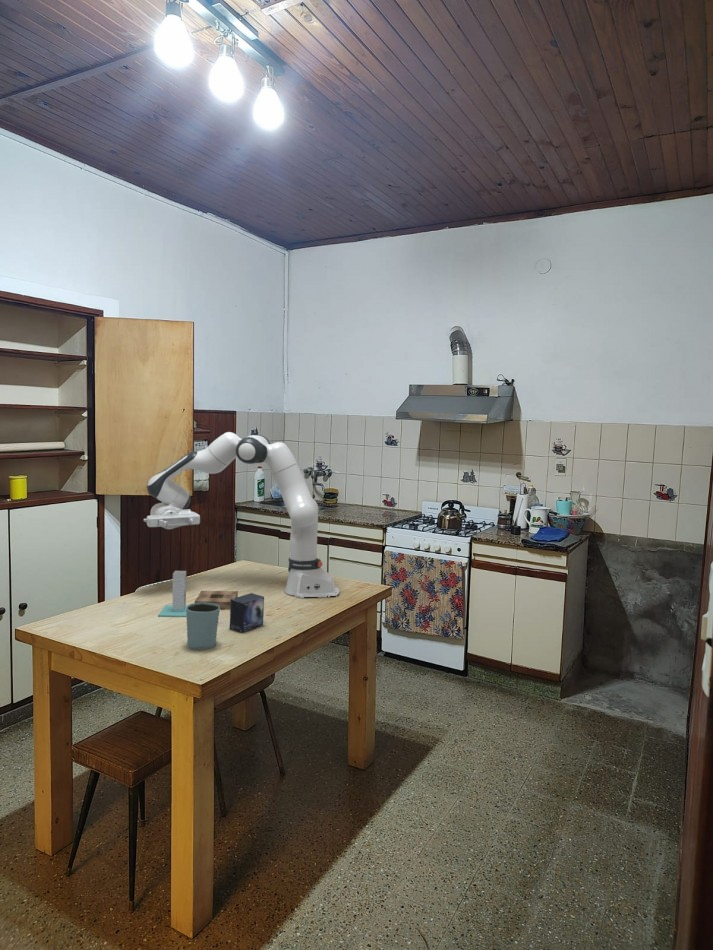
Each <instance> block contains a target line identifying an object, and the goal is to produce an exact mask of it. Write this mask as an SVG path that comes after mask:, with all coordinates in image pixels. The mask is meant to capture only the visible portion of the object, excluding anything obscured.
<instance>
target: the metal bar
mask: <svg viewBox="0 0 713 950" xmlns="http://www.w3.org/2000/svg"><path fill="white" fill-rule="evenodd" d="M186 598H187V570H174V572H173V573H172V604H171V605H172V612H184V611H185V609H186V605H187V601H186V600H187V599H186Z"/></svg>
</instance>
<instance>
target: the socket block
mask: <svg viewBox="0 0 713 950" xmlns="http://www.w3.org/2000/svg"><path fill="white" fill-rule="evenodd" d="M238 595H239V591H238V590H237V591H235V590H200V593H199V594H198V596H197V597H196V598H195V600H194V603H203V602H205V603H214V604H217V605H219V606H220V609H222V610H223V611H224V610H225V609H227V611H230V605H231V599H233V598H237V597H239V596H238ZM225 611H226V610H225Z"/></svg>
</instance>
